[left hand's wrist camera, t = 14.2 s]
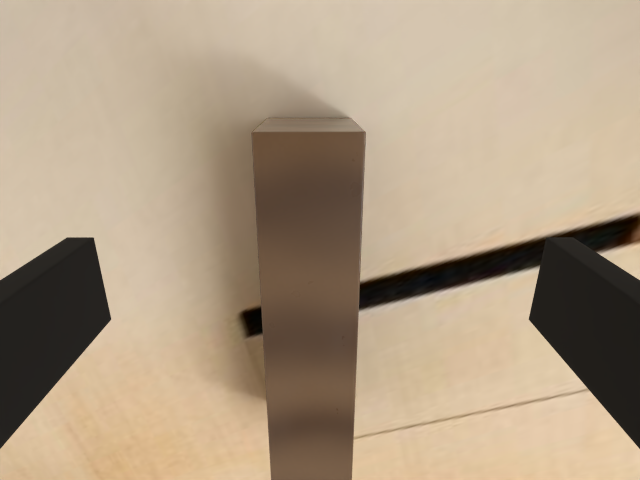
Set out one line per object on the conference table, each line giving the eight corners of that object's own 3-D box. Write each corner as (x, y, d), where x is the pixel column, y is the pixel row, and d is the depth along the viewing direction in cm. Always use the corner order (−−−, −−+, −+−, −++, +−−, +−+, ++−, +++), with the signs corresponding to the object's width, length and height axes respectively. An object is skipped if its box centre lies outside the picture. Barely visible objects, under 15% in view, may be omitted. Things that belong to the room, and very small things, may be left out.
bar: (266, 117, 28) (251, 131, 21) (351, 117, 28) (365, 131, 21) (279, 405, 37) (271, 486, 29) (343, 404, 37) (351, 484, 29)
